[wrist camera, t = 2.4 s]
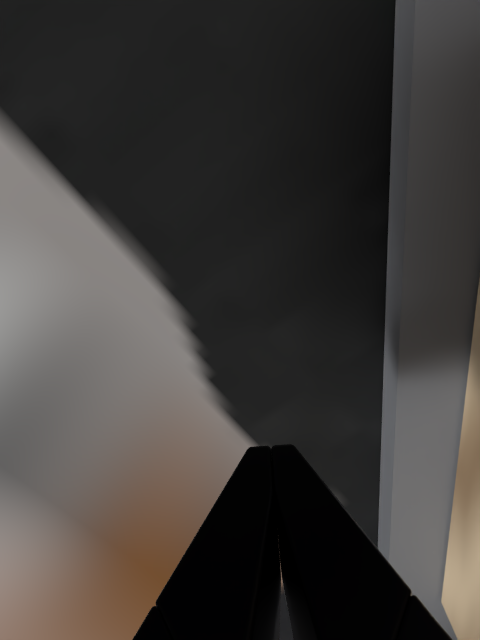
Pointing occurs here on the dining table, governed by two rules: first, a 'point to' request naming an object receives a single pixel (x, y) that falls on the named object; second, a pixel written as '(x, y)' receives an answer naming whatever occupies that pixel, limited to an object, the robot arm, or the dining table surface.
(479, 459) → the brown wooden box
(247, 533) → the robot arm
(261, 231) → the dining table surface
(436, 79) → the bay
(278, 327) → the dining table surface
